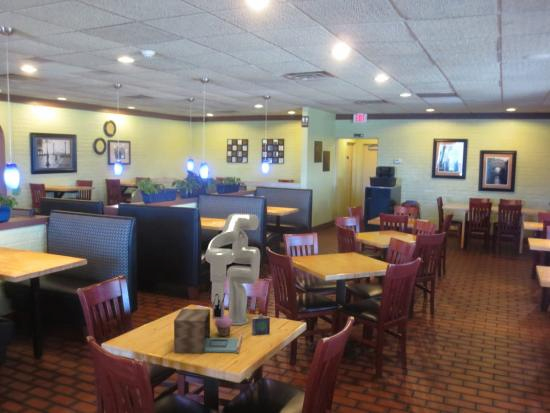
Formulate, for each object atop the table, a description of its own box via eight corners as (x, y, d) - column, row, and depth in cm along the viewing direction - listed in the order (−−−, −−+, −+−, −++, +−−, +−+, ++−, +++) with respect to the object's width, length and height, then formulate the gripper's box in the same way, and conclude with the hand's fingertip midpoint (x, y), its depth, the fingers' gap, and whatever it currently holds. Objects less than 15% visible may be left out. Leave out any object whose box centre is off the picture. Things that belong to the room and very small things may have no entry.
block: (214, 315, 227) (214, 301, 227) (224, 315, 227) (224, 301, 227) (212, 318, 222) (212, 304, 222) (223, 319, 222) (223, 304, 222)
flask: (252, 335, 241) (252, 315, 240) (251, 333, 243) (251, 313, 242) (270, 334, 243) (270, 314, 242) (269, 332, 245) (269, 312, 244)
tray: (200, 352, 218) (200, 346, 218) (206, 338, 235) (206, 332, 235) (238, 353, 218) (238, 346, 217) (242, 339, 235) (242, 333, 234)
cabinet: (174, 352, 218) (173, 320, 217) (182, 339, 235) (182, 308, 234) (204, 353, 218) (204, 320, 217) (210, 339, 235) (210, 309, 234)
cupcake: (235, 333, 244) (235, 314, 243) (227, 339, 236) (227, 319, 235) (219, 331, 247) (219, 312, 246) (212, 336, 239) (212, 317, 238)
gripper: (213, 273, 232) (213, 309, 233) (207, 281, 215) (207, 320, 216) (228, 273, 232) (228, 309, 233) (223, 282, 215) (223, 320, 216)
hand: (218, 314), depth 225 cm, fingers closed on block, 5 cm apart
